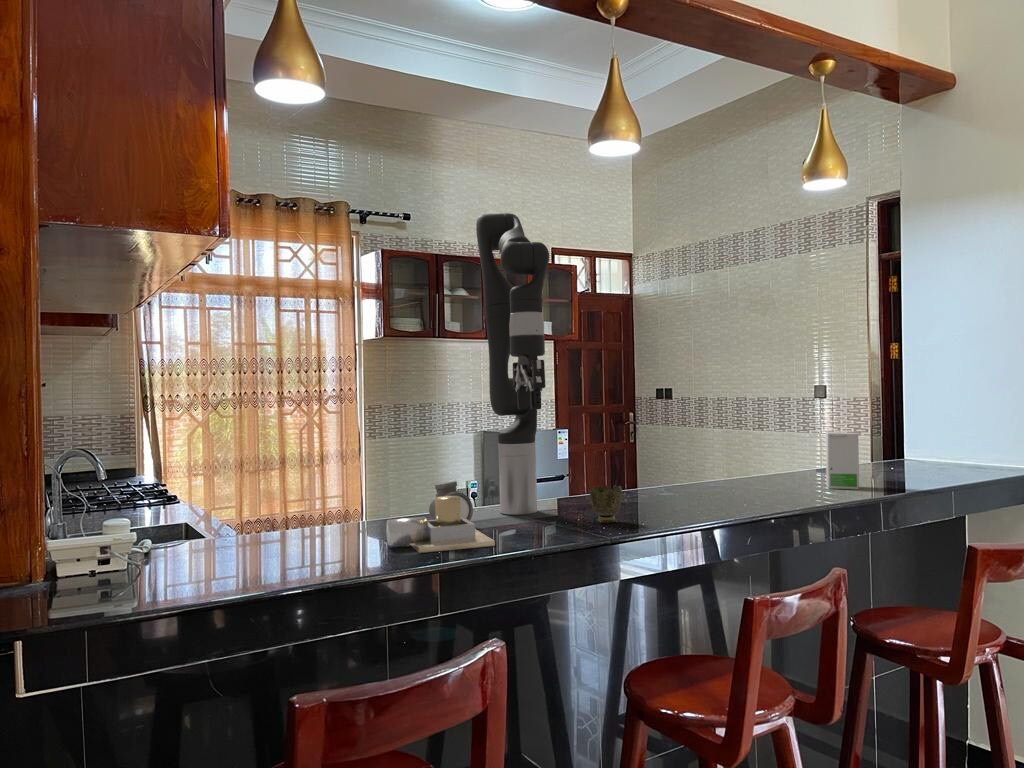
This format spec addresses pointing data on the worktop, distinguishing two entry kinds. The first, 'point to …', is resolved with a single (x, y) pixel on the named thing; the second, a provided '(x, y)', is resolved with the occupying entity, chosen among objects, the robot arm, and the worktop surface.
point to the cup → (606, 502)
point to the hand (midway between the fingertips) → (529, 409)
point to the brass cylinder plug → (447, 510)
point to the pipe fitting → (451, 490)
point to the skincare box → (842, 460)
